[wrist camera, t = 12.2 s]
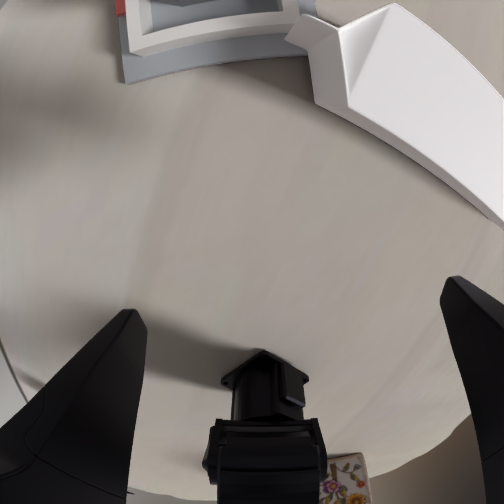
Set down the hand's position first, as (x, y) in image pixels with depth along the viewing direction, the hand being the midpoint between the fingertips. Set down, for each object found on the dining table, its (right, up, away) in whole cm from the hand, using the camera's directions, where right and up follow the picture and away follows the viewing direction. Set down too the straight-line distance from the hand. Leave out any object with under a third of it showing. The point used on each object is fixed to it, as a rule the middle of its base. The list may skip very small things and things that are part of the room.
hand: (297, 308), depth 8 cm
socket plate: (-4, +18, +5) cm, 19 cm away
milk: (+21, +5, +8) cm, 23 cm away
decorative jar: (+13, -38, +35) cm, 53 cm away
